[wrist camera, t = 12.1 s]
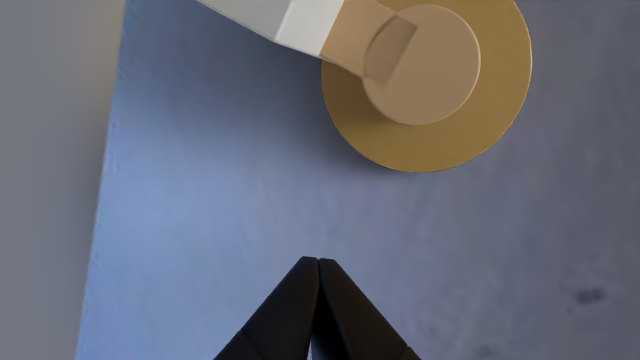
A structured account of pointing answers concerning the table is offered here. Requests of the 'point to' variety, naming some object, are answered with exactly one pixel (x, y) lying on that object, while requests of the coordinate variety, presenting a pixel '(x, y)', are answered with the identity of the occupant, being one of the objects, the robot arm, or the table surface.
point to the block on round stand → (376, 48)
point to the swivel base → (465, 123)
